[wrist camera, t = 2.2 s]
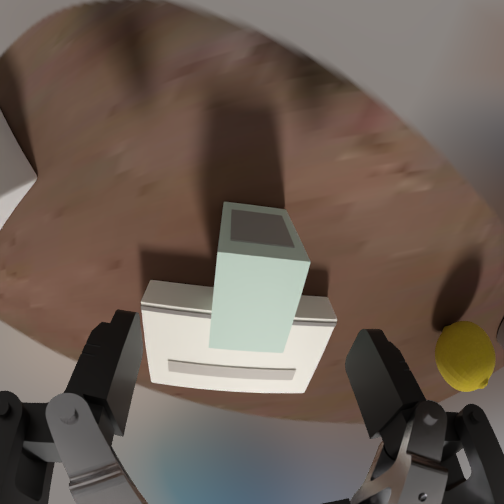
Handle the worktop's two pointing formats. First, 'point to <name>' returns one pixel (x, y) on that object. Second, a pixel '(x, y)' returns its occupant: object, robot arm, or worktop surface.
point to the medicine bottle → (12, 172)
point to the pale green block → (256, 279)
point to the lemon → (465, 356)
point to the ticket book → (221, 360)
